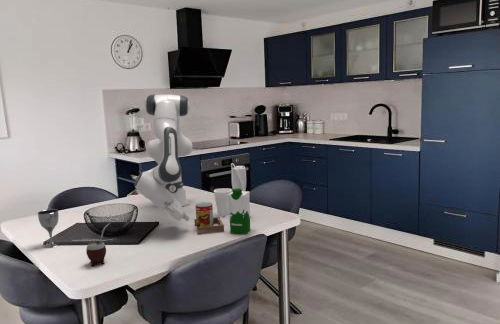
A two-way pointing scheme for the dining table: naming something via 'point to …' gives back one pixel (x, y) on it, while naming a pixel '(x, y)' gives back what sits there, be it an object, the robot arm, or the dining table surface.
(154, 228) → the dining table surface
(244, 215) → the milk carton
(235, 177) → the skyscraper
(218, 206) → the foam cup
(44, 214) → the wine glass
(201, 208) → the canned food
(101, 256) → the mate gourd
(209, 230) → the wooden tray
